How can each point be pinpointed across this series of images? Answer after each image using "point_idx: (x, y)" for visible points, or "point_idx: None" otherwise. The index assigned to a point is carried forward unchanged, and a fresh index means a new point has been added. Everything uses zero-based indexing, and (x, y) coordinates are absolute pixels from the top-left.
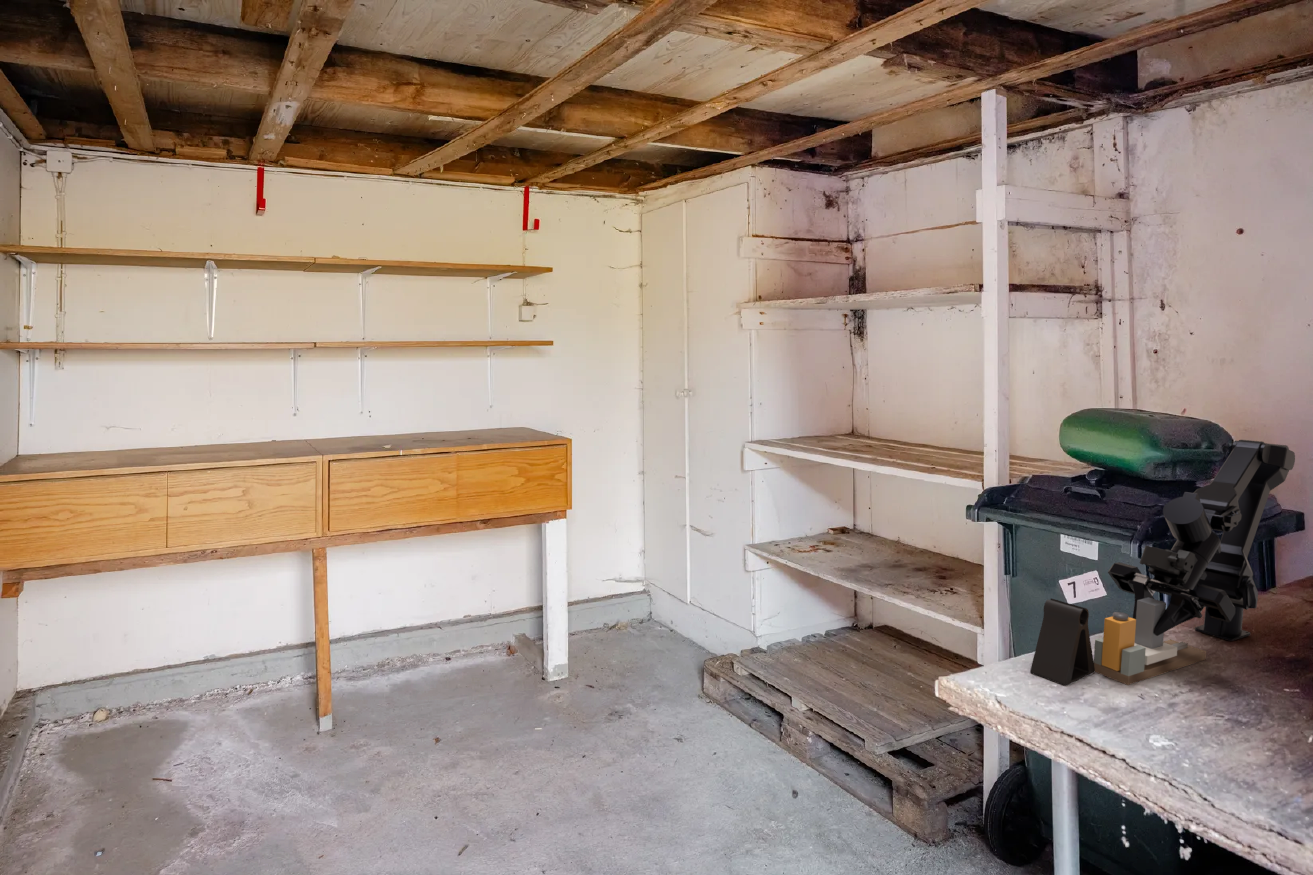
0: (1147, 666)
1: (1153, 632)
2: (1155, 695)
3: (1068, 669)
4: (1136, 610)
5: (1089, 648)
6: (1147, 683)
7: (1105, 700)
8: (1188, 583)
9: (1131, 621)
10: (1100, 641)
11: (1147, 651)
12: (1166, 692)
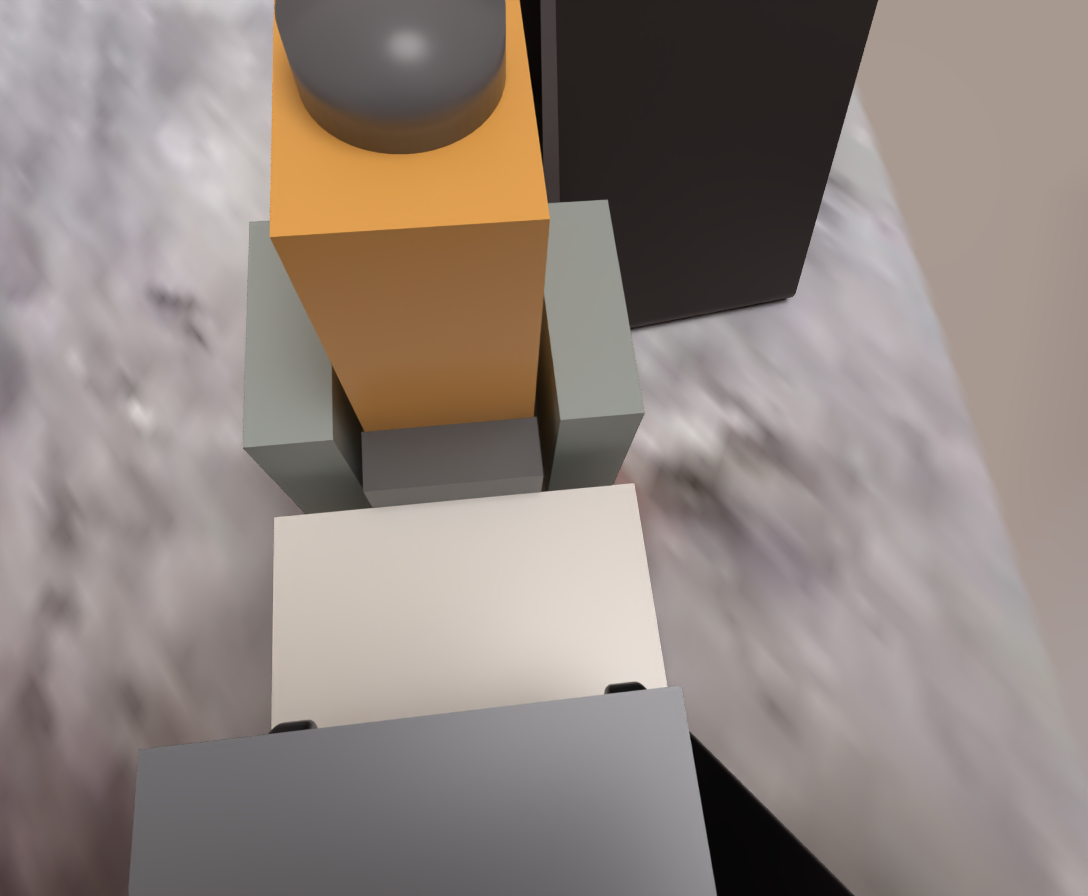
0: None
1: (311, 721)
2: (137, 400)
3: None
4: (737, 844)
5: (552, 136)
6: (278, 515)
7: (258, 112)
8: None
9: (277, 150)
10: (556, 208)
11: (351, 627)
12: (120, 506)
